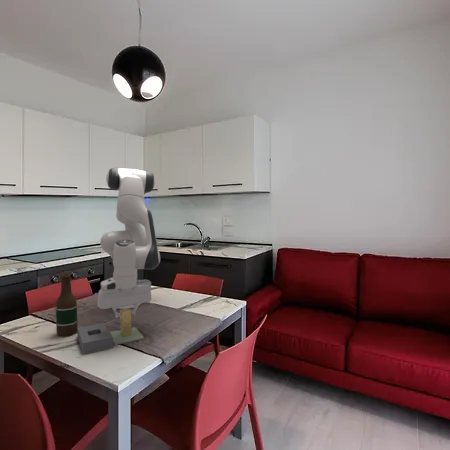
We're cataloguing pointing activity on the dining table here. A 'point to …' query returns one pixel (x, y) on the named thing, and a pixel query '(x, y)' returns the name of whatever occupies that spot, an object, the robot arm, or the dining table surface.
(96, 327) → the grey slotted block
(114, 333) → the green mat
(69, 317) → the beer bottle
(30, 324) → the dining table surface
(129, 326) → the brass peg
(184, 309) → the dining table surface
